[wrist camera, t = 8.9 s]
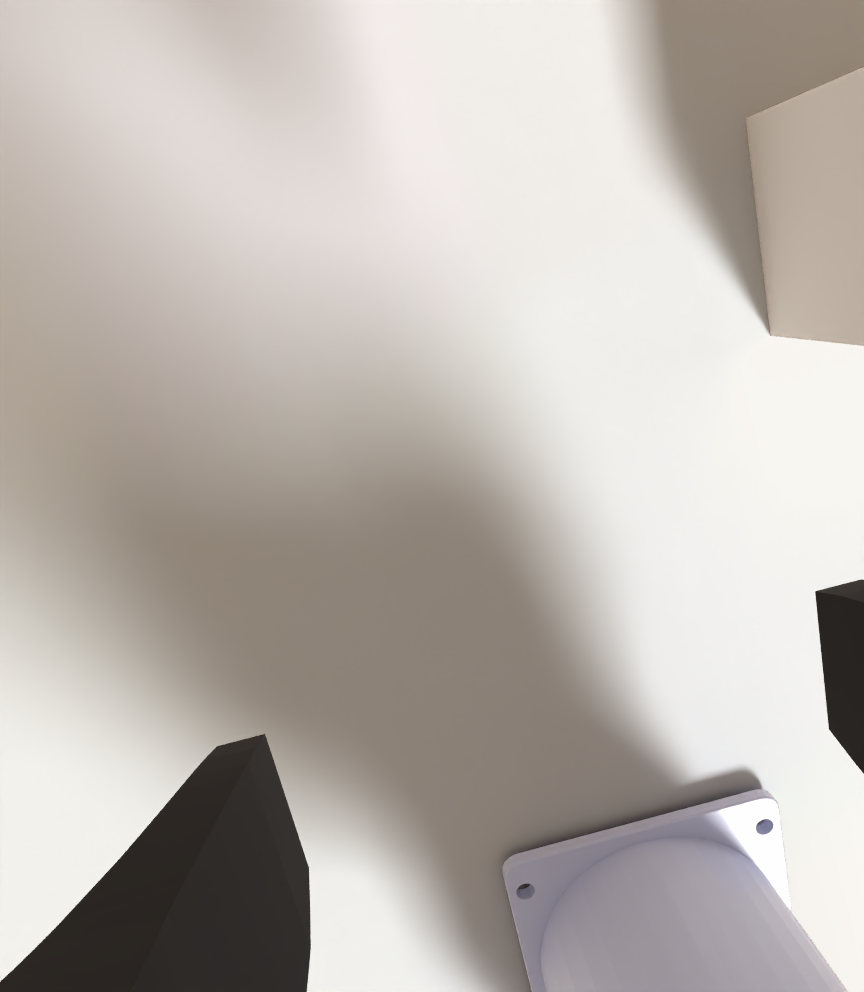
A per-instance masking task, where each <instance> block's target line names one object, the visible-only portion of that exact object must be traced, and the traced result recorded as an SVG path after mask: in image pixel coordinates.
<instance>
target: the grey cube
mask: <svg viewBox="0 0 864 992" xmlns="http://www.w3.org/2000/svg"><path fill="white" fill-rule="evenodd" d="M746 126H747V135H748V144H749V152H750V161H751V170H752V179H753V187H754V196H755V205H756V214H757V223H758V231H759V240H760V249H761V258H762V267H763V275H764V284H765V293H766V302H767V311H768V319H769V328H770V336H779V337H788V338H797V339H806V340H815V341H825V342H834V343H843V344H852V345H861V346H864V67H862V68H859V69H857V70H855V71H853V72H850V73H848V74H846V75H843V76H841V77H839V78H836V79H834V80H832V81H830V82H827V83H825V84H823V85H820V86H818V87H816V88H813V89H811V90H809V91H807V92H804V93H802V94H800V95H797V96H795V97H793V98H790V99H788V100H786V101H784V102H781V103H779V104H777V105H774V106H772V107H770V108H768V109H765V110H763V111H761V112H758V113H756V114H754V115H751V116H749V117H747V118H746Z"/></svg>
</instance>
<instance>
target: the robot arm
mask: <svg viewBox="0 0 864 992" xmlns="http://www.w3.org/2000/svg"><path fill="white" fill-rule="evenodd" d="M815 593H816V603H817V613H818V623H819V633H820V643H821V653H822V663H823V673H824V683H825V693H826V703H827V713H828V723H829V730H830V731H831V732H832V734H833V735H834V736H835V737H836V739H837V740H838V741H839V743H840V744H841V745H842V747H843V748H844V749H845V750H846V752H847V753H848V754H849V756H850V757H851V758H852V760H853V761H854V762H855V763H856V765H857V766H858V767H859V768H860V770H861V771H862V772H863V773H864V580H857V581H854V582H850V583H846V584H842V585H838V586H834V587H830V588H827V589H823V590H819V591H815ZM763 819H766V820H765V821H764V822H763V823H762V824H760V825H758V826H756V825H757V823H758V822H759V821H761V820H763ZM502 873H503V877H504V881H505V886H506V890H507V894H508V898H509V902H510V906H511V910H512V914H513V918H514V922H515V926H516V930H517V934H518V938H519V942H520V947H521V951H522V955H523V959H524V963H525V967H526V971H527V975H528V979H529V983H530V987H531V991H532V992H848V991H847V990H846V988H845V987H844V985H843V984H842V983H841V981H840V980H839V978H838V977H837V976H836V974H835V973H834V971H833V970H832V968H831V967H830V966H829V964H828V963H827V961H826V960H825V959H824V957H823V956H822V954H821V953H820V952H819V950H818V949H817V947H816V946H815V945H814V943H813V942H812V940H811V939H810V938H809V936H808V935H807V933H806V932H805V931H804V929H803V928H802V926H801V925H800V924H799V922H798V921H797V919H796V918H795V916H794V915H793V914H792V910H791V902H790V894H789V886H788V878H787V870H786V862H785V853H784V845H783V837H782V829H781V821H780V813H779V806H778V803H777V801H776V800H775V799H774V797H773V796H772V795H771V794H770V793H769V792H768V791H766V790H762V789H757V790H752V791H748V792H744V793H741V794H737V795H733V796H729V797H726V798H722V799H718V800H715V801H711V802H707V803H703V804H700V805H696V806H692V807H688V808H685V809H681V810H677V811H674V812H670V813H666V814H662V815H659V816H655V817H651V818H648V819H644V820H640V821H636V822H633V823H629V824H625V825H621V826H618V827H614V828H610V829H607V830H603V831H599V832H595V833H592V834H588V835H584V836H581V837H577V838H573V839H569V840H566V841H562V842H558V843H554V844H551V845H547V846H543V847H540V848H536V849H532V850H528V851H525V852H521V853H517V854H515V855H512V856H510V857H509V858H508V859H507V860H506V861H505V862H504V864H503V867H502ZM523 884H530V885H529V887H527V888H525V889H518V887H519V886H521V885H523ZM310 949H311V941H310V890H309V867H308V864H307V861H306V858H305V855H304V852H303V849H302V846H301V843H300V840H299V836H298V833H297V830H296V827H295V824H294V821H293V818H292V815H291V812H290V809H289V806H288V803H287V800H286V797H285V794H284V791H283V788H282V785H281V782H280V779H279V776H278V772H277V769H276V766H275V763H274V760H273V757H272V754H271V751H270V748H269V745H268V742H267V739H266V736H265V734H263V735H259V736H255V737H252V738H248V739H244V740H240V741H236V742H232V743H228V744H225V745H221V746H217V747H216V748H215V749H214V750H213V751H212V752H211V753H210V754H209V755H208V756H207V757H206V758H205V759H204V761H203V762H202V763H201V764H200V765H199V766H198V767H197V769H196V770H195V771H194V772H193V773H192V774H191V776H190V777H189V778H188V779H187V780H186V781H185V783H184V784H183V785H182V786H181V787H180V789H179V790H178V791H177V792H176V793H175V795H174V796H173V797H172V798H171V799H170V801H169V802H168V803H167V804H166V805H165V807H164V808H163V809H162V810H161V811H160V812H159V814H158V815H157V816H156V817H155V818H154V819H153V821H152V822H151V823H150V824H149V825H148V826H147V828H146V829H145V830H144V831H143V832H142V833H141V835H140V836H139V837H138V838H137V839H136V840H135V842H134V843H133V844H132V845H131V846H130V847H129V849H128V850H127V851H126V852H125V853H124V854H123V856H122V857H121V858H120V859H119V860H118V861H117V862H116V863H115V864H114V866H113V867H112V868H111V869H110V870H109V871H108V872H107V873H106V874H105V875H104V876H103V877H102V878H101V880H100V881H99V882H98V883H97V884H96V885H95V886H94V887H93V888H92V889H91V890H90V891H89V892H88V894H87V895H86V896H85V897H84V898H83V899H82V900H81V901H80V902H79V903H78V904H77V905H76V906H75V908H74V909H73V910H72V911H71V912H70V913H69V914H68V915H67V916H66V917H65V918H64V919H63V920H62V922H61V923H60V924H59V925H58V926H57V927H56V928H55V929H54V930H53V931H52V932H51V933H50V934H49V935H48V936H47V937H46V938H45V939H44V940H43V941H42V942H41V943H40V944H39V945H38V946H37V947H36V948H35V949H34V950H33V951H32V952H31V953H30V954H29V955H28V956H27V957H26V958H25V959H24V960H23V961H22V962H21V963H20V964H19V965H18V966H17V967H16V968H15V969H14V970H13V971H11V972H10V973H9V974H8V975H7V976H6V977H5V978H4V979H3V980H2V981H1V982H0V992H307V982H308V972H309V960H310Z"/></svg>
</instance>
